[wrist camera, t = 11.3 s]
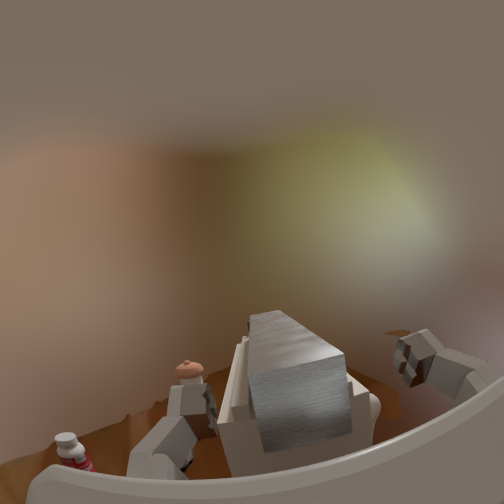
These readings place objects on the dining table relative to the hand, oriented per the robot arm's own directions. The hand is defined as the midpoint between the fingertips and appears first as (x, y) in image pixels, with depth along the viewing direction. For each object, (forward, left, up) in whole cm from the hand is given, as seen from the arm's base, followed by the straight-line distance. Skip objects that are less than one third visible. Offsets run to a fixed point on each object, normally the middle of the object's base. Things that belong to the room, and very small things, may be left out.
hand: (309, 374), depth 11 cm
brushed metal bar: (+12, +6, -3) cm, 14 cm away
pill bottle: (+8, +49, -30) cm, 58 cm away
